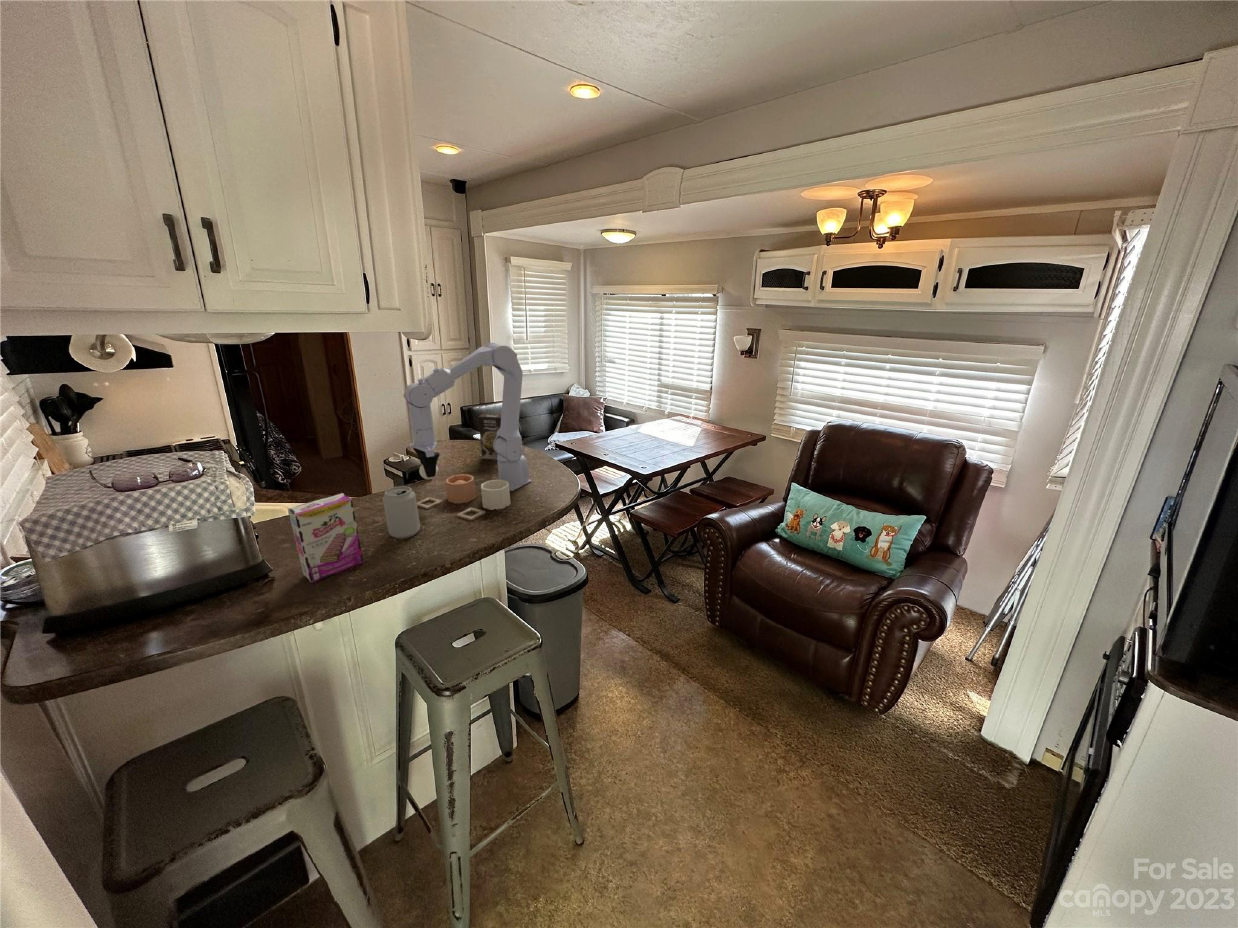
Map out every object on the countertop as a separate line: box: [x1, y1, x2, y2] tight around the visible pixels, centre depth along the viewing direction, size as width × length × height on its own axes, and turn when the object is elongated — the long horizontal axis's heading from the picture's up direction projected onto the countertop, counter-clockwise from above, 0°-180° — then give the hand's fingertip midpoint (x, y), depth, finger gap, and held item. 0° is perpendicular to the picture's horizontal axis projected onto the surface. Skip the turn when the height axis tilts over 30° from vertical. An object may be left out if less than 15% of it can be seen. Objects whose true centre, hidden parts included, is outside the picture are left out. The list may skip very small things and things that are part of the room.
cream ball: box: [418, 464, 439, 480], centre depth 136 cm, size 5×5×5 cm
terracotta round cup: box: [445, 473, 476, 504], centre depth 143 cm, size 8×8×6 cm
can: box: [382, 485, 421, 539], centre depth 121 cm, size 8×8×12 cm
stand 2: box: [456, 507, 486, 522], centre depth 133 cm, size 5×5×1 cm
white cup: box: [480, 479, 512, 511], centre depth 139 cm, size 8×8×6 cm
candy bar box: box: [287, 492, 364, 584], centre depth 104 cm, size 11×5×16 cm, turn 140°
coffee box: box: [477, 412, 501, 460], centre depth 176 cm, size 9×6×16 cm
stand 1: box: [416, 496, 444, 510], centre depth 139 cm, size 5×5×1 cm
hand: (429, 473), depth 136 cm, fingers closed on cream ball, 5 cm apart
